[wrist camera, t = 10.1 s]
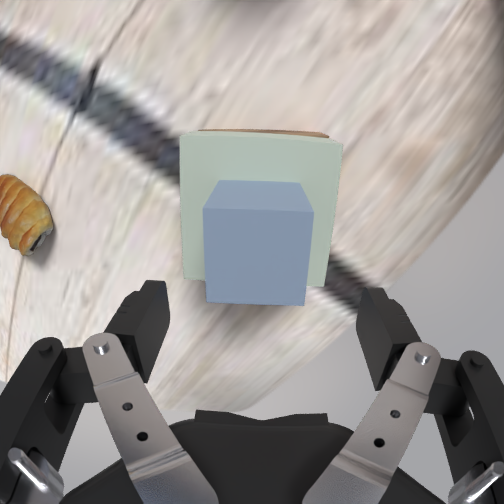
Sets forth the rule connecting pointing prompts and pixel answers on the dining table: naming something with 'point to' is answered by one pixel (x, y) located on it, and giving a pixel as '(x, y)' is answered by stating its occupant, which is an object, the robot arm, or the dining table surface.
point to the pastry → (23, 215)
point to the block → (257, 242)
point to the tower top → (257, 169)
